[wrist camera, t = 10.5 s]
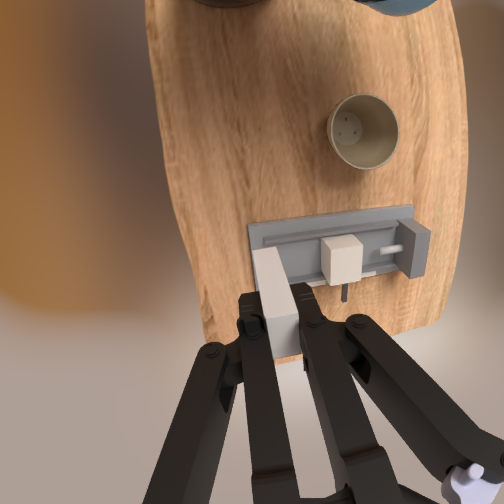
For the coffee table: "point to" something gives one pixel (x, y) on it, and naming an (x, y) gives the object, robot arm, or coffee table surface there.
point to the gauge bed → (356, 222)
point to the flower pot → (363, 131)
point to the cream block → (341, 260)
